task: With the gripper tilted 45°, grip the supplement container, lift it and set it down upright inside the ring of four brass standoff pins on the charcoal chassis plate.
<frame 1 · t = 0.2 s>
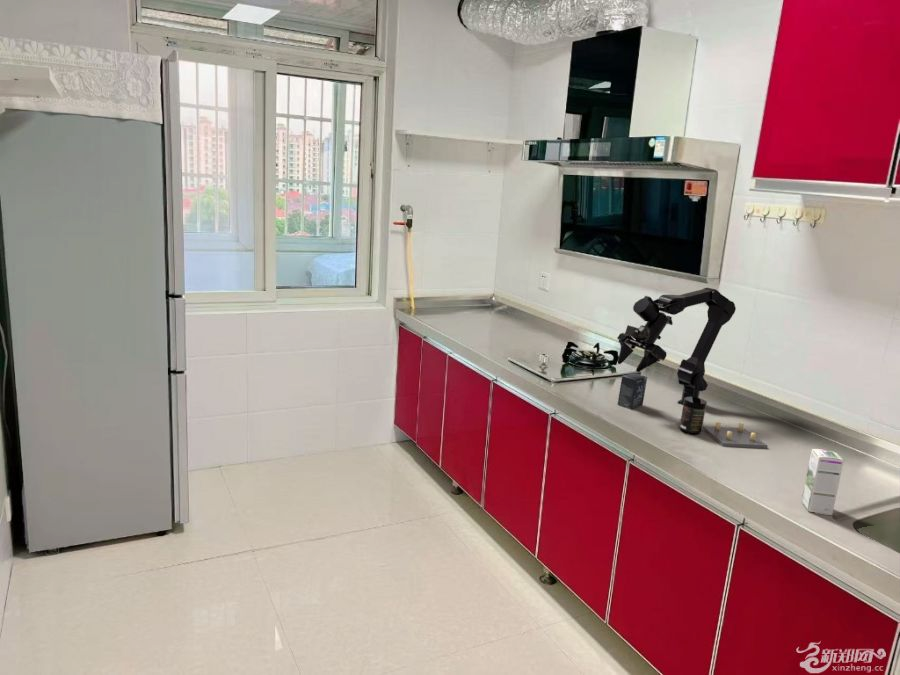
hand: (627, 367, 230), 15 cm above the worktop, tool tilted 35°, fingers open, 9 cm apart
chassis plate: (733, 438, 215), on the worktop
supplement container: (689, 432, 217), on the worktop
syrup box: (815, 509, 170), on the worktop
box: (630, 405, 239), on the worktop
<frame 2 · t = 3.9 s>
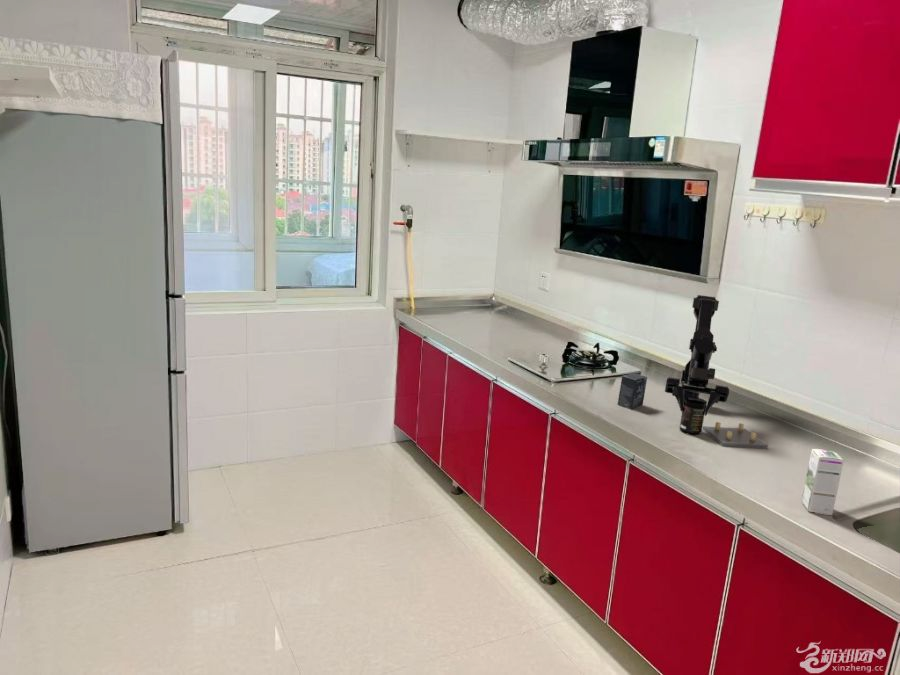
hand: (693, 412, 215), 7 cm above the worktop, tool tilted 45°, fingers closed on supplement container, 7 cm apart
supplement container: (689, 432, 217), on the worktop, touching gripper
everything else where it was.
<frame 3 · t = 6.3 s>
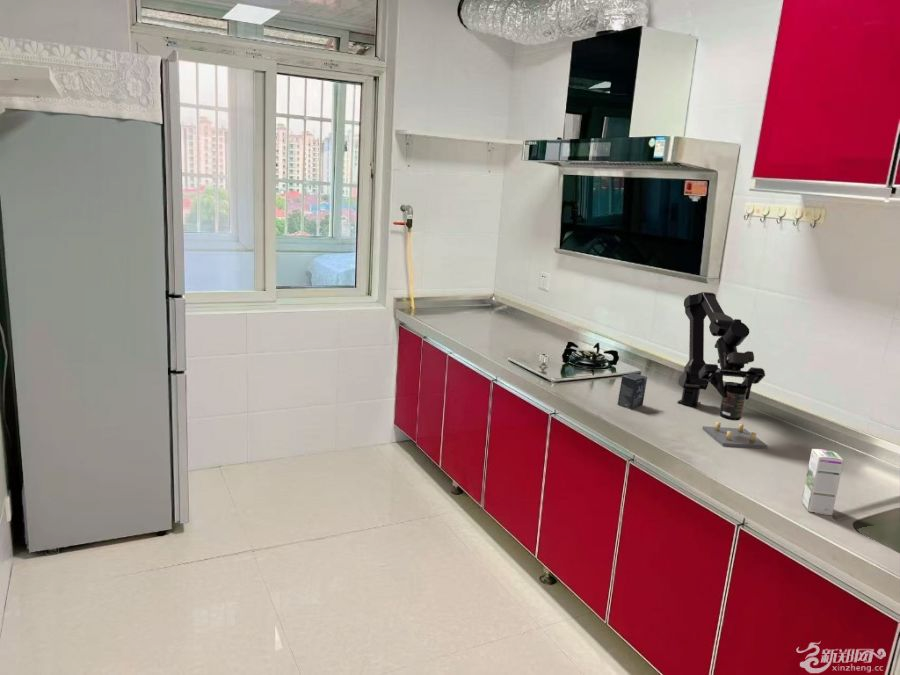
hand: (735, 398, 210), 13 cm above the worktop, tool tilted 45°, fingers closed on supplement container, 7 cm apart
supplement container: (729, 417, 213), point 6 cm above the worktop, touching gripper
everything else where it was.
when the fingers open (9 cm above the worktop, at t = 8.5 s): supplement container drops 1 cm, resting on chassis plate.
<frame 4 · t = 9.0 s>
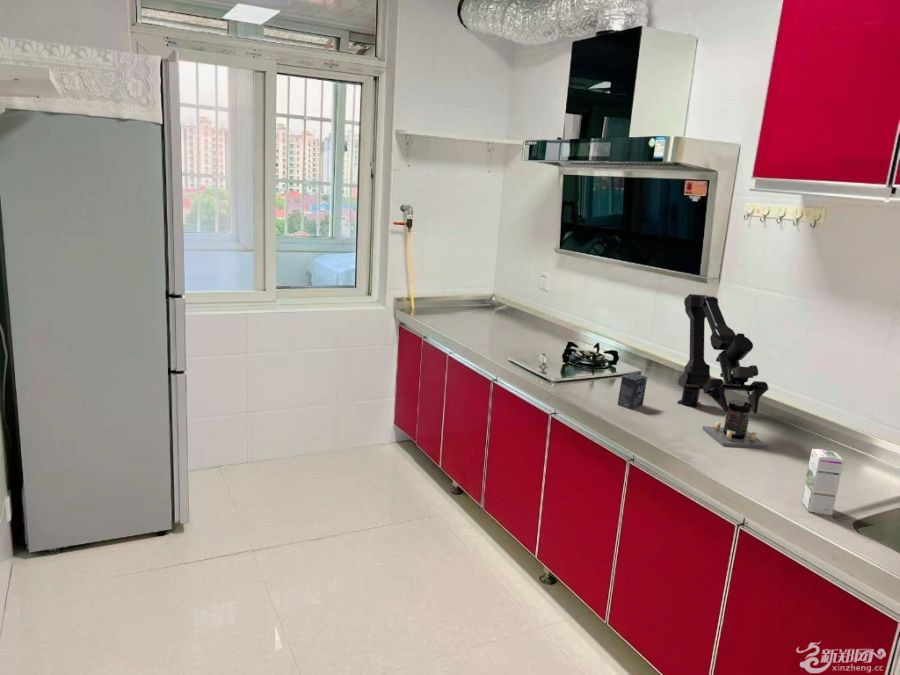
hand: (741, 412, 211), 9 cm above the worktop, tool tilted 45°, fingers open, 9 cm apart
supplement container: (733, 435, 215), point 1 cm above the worktop, touching chassis plate
everything else where it was.
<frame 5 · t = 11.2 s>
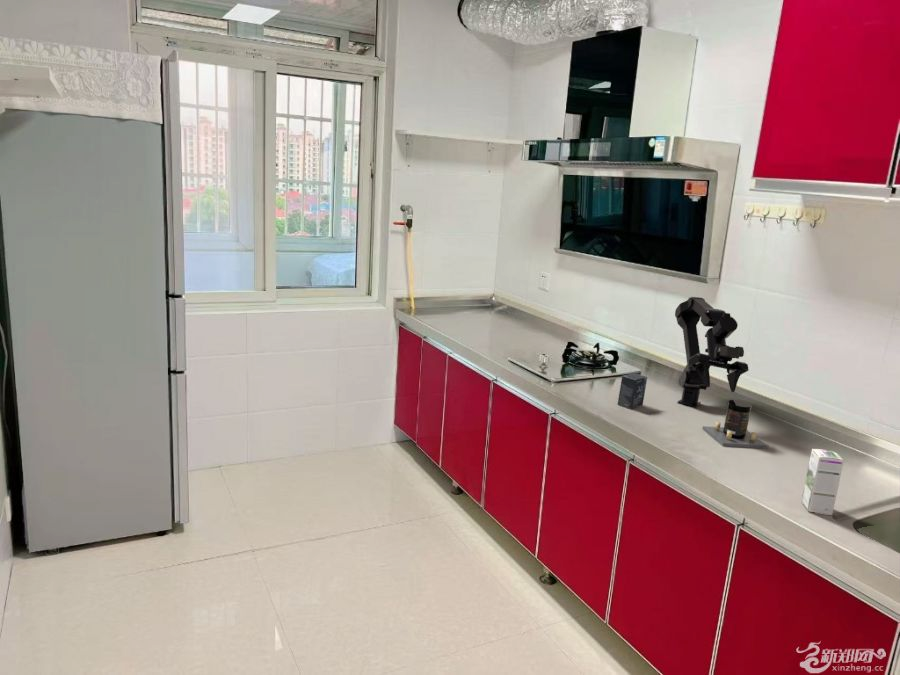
hand: (720, 389, 220), 13 cm above the worktop, tool tilted 40°, fingers open, 9 cm apart
nothing on the worktop moved.
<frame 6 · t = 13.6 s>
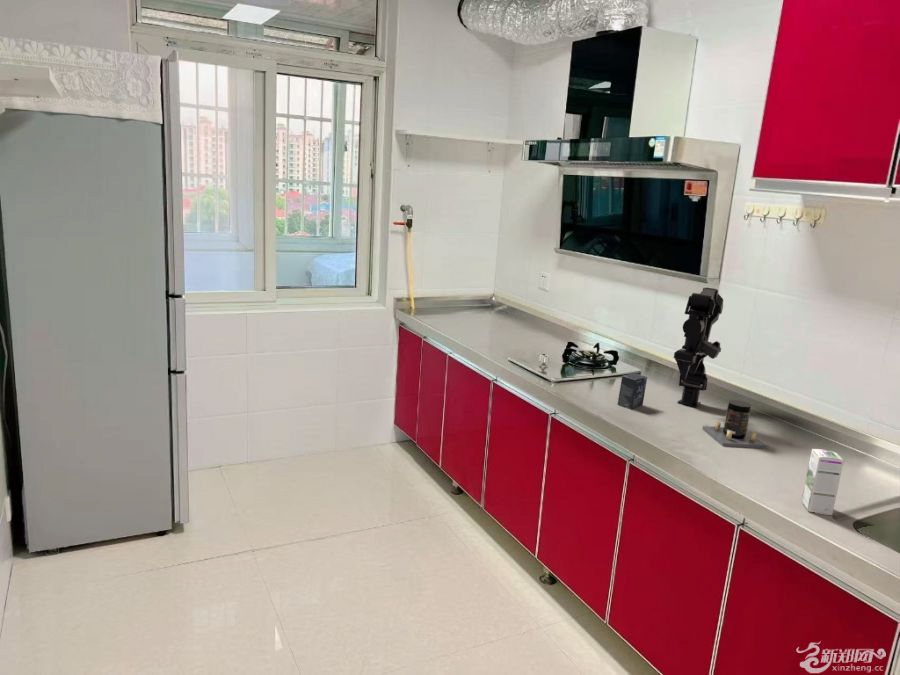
hand: (688, 377, 232), 13 cm above the worktop, tool pointing down, fingers open, 9 cm apart
nothing on the worktop moved.
at the end: supplement container 0.2 cm off-centre on the chassis plate, point 0.8 cm above the chassis plate's base; supplement container tilted 0°; the gripper is holding nothing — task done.
